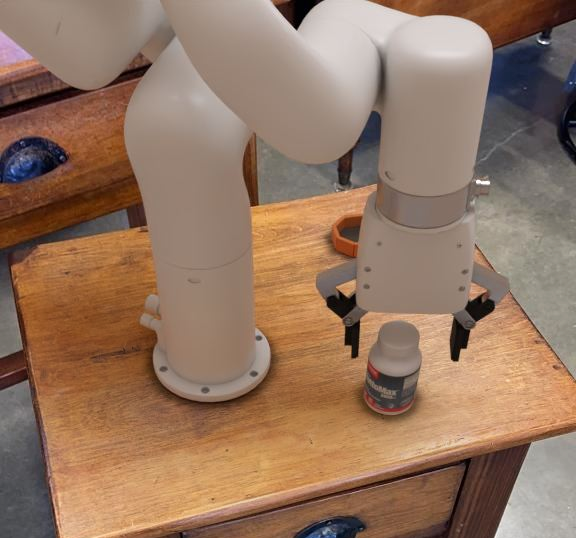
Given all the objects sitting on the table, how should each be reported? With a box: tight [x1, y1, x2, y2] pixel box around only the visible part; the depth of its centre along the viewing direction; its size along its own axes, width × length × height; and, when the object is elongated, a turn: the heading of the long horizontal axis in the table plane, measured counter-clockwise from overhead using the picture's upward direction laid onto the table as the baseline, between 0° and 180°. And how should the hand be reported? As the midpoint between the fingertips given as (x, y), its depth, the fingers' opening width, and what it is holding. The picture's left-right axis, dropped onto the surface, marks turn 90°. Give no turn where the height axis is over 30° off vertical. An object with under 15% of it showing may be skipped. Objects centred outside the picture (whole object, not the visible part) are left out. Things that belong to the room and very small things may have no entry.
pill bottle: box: [363, 319, 423, 416], centre depth 83 cm, size 5×5×9 cm
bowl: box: [330, 213, 363, 258], centre depth 101 cm, size 6×6×2 cm
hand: (404, 350), depth 81 cm, fingers open, 9 cm apart
